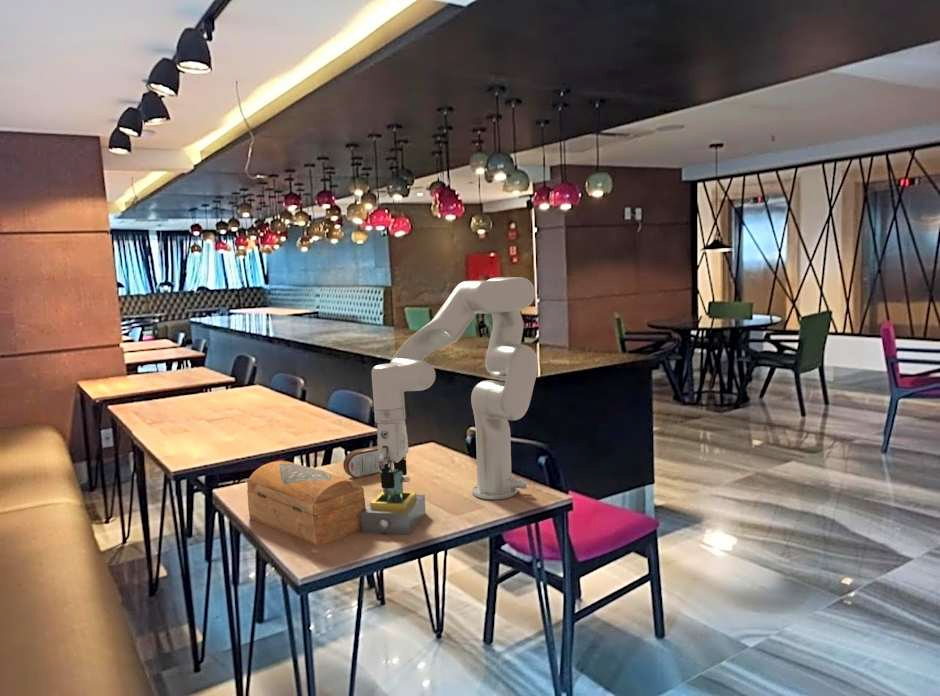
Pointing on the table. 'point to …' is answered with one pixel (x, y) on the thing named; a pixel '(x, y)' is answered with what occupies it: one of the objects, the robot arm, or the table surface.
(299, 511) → the wooden box
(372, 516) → the grey yellow box
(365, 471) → the tin
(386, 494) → the spout can
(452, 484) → the table surface
